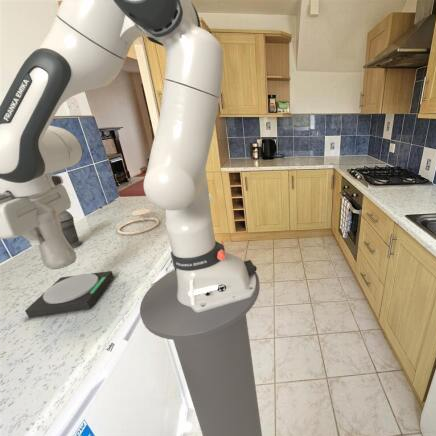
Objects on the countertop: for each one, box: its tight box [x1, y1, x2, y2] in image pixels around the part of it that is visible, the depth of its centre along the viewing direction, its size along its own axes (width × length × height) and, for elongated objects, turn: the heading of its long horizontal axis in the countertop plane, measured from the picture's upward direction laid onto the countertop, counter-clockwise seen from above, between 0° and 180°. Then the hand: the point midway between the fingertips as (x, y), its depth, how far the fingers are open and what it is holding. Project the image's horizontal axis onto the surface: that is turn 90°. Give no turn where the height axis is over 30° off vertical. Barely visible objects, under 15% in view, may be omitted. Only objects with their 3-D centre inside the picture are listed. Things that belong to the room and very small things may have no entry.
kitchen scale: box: [24, 270, 115, 319], centre depth 69 cm, size 14×14×3 cm
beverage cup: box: [60, 210, 81, 249], centre depth 93 cm, size 7×7×20 cm
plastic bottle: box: [34, 199, 77, 270], centre depth 62 cm, size 6×7×20 cm
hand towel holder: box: [117, 208, 160, 236], centre depth 113 cm, size 17×4×21 cm
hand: (48, 237), depth 62 cm, fingers closed on plastic bottle, 5 cm apart
